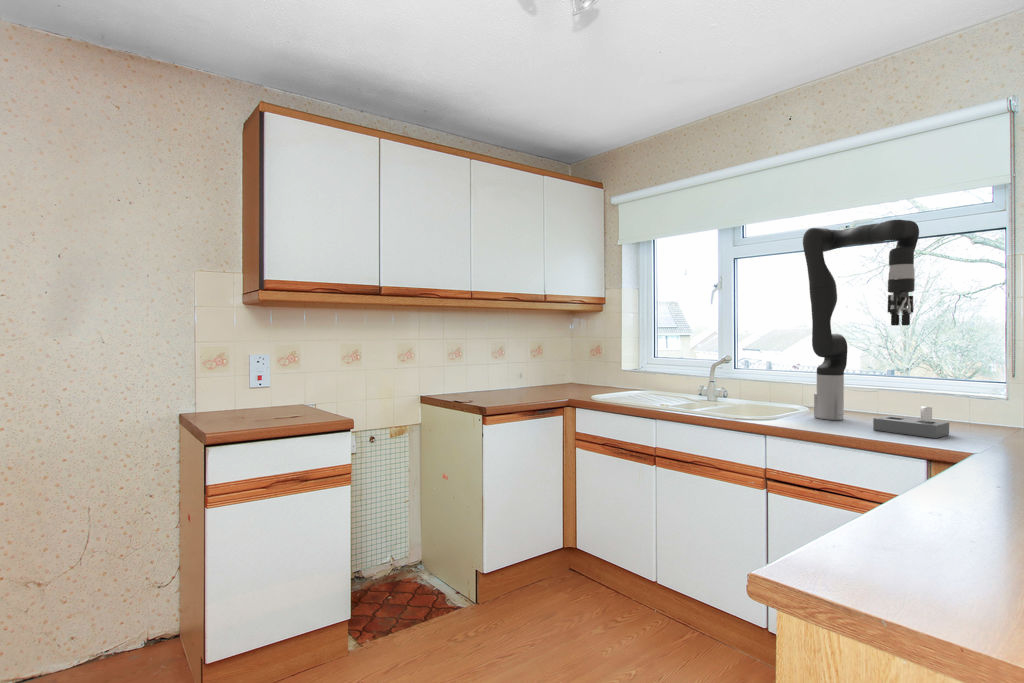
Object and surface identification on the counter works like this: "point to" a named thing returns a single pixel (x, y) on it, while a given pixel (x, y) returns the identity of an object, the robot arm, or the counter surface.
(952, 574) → the counter surface
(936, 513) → the counter surface
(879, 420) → the hole block
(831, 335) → the robot arm
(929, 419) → the steel peg
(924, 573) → the counter surface
